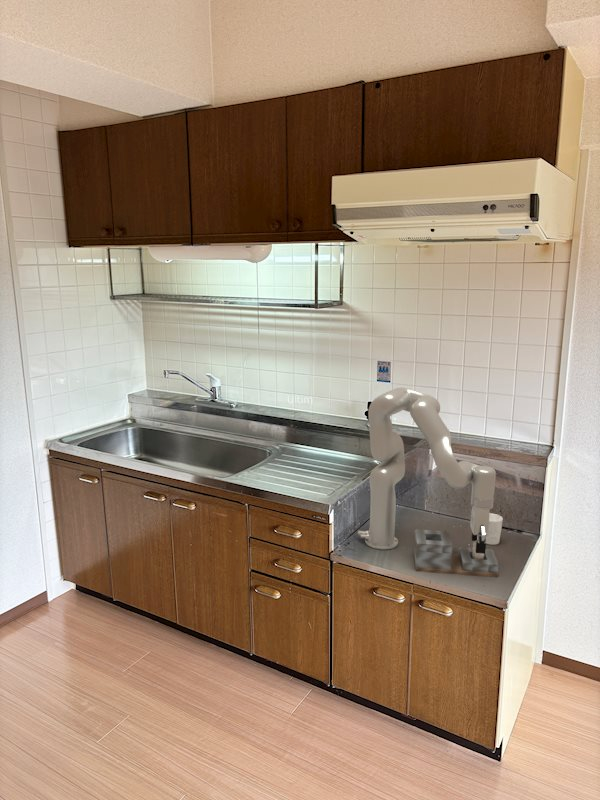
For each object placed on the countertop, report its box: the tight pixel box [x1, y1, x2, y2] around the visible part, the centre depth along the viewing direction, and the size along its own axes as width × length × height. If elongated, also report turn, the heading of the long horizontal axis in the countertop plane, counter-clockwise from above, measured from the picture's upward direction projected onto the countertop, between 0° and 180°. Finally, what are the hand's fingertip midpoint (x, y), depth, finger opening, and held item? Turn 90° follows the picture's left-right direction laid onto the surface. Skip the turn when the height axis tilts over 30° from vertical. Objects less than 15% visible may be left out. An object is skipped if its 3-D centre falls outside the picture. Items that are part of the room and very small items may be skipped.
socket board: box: [413, 528, 499, 578], centre depth 218 cm, size 28×14×10 cm, turn 82°
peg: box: [472, 540, 484, 560], centre depth 217 cm, size 4×4×8 cm
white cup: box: [486, 512, 504, 546], centre depth 237 cm, size 8×8×10 cm
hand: (478, 546), depth 217 cm, fingers open, 9 cm apart
